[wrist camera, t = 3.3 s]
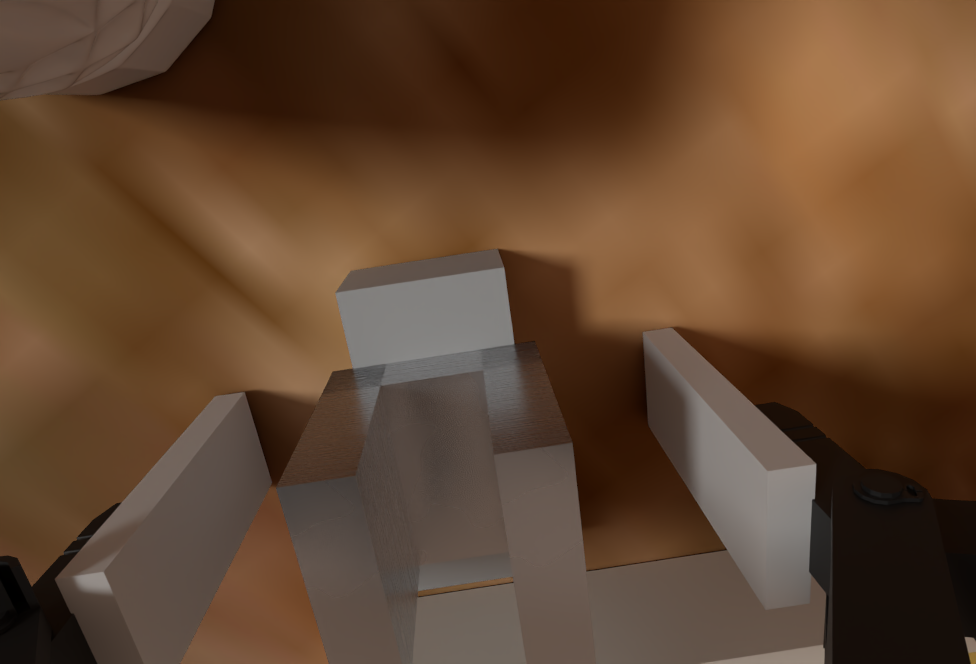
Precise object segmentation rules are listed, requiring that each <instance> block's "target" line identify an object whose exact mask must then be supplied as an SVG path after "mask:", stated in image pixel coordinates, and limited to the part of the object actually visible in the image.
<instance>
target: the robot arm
mask: <svg viewBox="0 0 976 664" xmlns="http://www.w3.org/2000/svg"><path fill="white" fill-rule="evenodd" d="M643 346H644V363H645V380H646V397H647V414H648V426H649V428H650V429H651V431H652V433H653V434H654V436H655V437H656V439H657V440H658V442H659V444H660V445H661V447H662V448H663V450H664V451H665V453H666V455H667V456H668V458H669V459H670V461H671V462H672V464H673V466H674V467H675V469H676V470H677V472H678V473H679V475H680V477H681V478H682V480H683V481H684V483H685V484H686V486H687V488H688V489H689V491H690V492H691V494H692V495H693V497H694V499H695V500H696V502H697V503H698V505H699V506H700V508H701V510H702V511H703V513H704V514H705V516H706V517H707V519H708V521H709V522H710V524H711V525H712V527H713V528H714V530H715V531H716V533H717V535H718V536H719V538H720V539H721V541H722V542H723V544H724V546H725V547H726V549H727V550H728V552H729V553H730V555H731V557H732V558H733V560H734V561H735V563H736V564H737V566H738V568H739V569H740V571H741V572H742V574H743V575H744V577H745V579H746V580H747V582H748V583H749V585H750V586H751V588H752V590H753V591H754V593H755V594H756V596H757V597H758V599H759V601H760V602H761V604H762V605H763V607H764V608H765V610H769V609H776V608H783V607H789V606H796V605H802V604H809V603H810V592H811V575H812V576H813V577H814V579H815V580H816V581H817V583H818V584H819V585H820V586H821V588H822V589H823V590H824V591H825V593H826V606H825V623H824V641H823V648H825V659H824V664H971V662H970V658H969V654H968V649H967V645H966V641H965V637H971V638H974V639H975V641H976V501H961V500H943V499H933V498H932V497H931V496H930V494H929V493H928V491H927V489H925V488H924V487H922V486H921V485H920V484H918V483H917V482H915V481H914V480H912V479H909V478H907V477H905V476H902V475H900V474H897V473H893V472H888V471H884V470H879V469H865V468H864V467H863V466H862V465H861V464H859V463H858V462H857V461H856V460H855V459H853V458H852V457H851V456H850V455H849V454H848V453H846V452H845V451H844V450H843V449H842V448H840V447H839V446H838V445H837V444H836V443H834V442H833V441H832V440H831V439H830V438H826V435H825V434H824V433H823V432H821V431H820V430H819V429H818V428H817V427H813V424H812V423H811V422H810V421H808V420H807V419H806V418H805V417H804V416H802V415H801V414H800V413H799V412H797V411H795V410H793V409H790V408H788V407H786V406H783V405H781V404H778V403H776V402H773V403H766V404H759V405H753V404H752V403H751V402H750V401H749V400H748V399H747V398H746V397H745V396H744V395H743V394H742V393H741V392H740V391H739V390H737V389H736V388H735V387H734V386H733V385H732V384H731V383H730V382H729V381H728V380H727V379H726V378H725V377H724V376H723V375H722V374H721V373H719V372H718V371H717V370H716V369H715V368H714V367H713V366H712V365H711V364H710V363H709V362H708V361H707V360H706V359H705V358H704V357H702V356H701V355H700V354H699V353H698V352H697V351H696V350H695V349H694V348H693V347H692V346H691V345H690V344H689V343H688V342H687V341H686V340H684V339H683V338H682V337H681V336H680V335H679V334H678V333H677V332H676V331H675V330H674V329H673V328H666V329H659V330H652V331H646V332H643ZM271 484H272V481H271V477H270V474H269V471H268V467H267V464H266V461H265V457H264V454H263V451H262V448H261V444H260V441H259V438H258V434H257V431H256V428H255V424H254V421H253V418H252V415H251V411H250V408H249V405H248V401H247V398H246V395H245V392H241V393H234V394H228V395H221V396H215V397H214V398H213V400H212V401H211V402H210V403H209V404H208V405H207V406H206V408H205V409H204V410H203V411H202V412H201V413H200V414H199V416H198V417H197V418H196V419H195V420H194V421H193V422H192V423H191V425H190V426H189V427H188V428H187V429H186V430H185V431H184V433H183V434H182V435H181V436H180V437H179V438H178V439H177V441H176V442H175V443H174V444H173V445H172V446H171V447H170V449H169V450H168V451H167V452H166V453H165V454H164V455H163V457H162V458H161V459H160V460H159V461H158V462H157V463H156V464H155V466H154V467H153V468H152V469H151V470H150V471H149V472H148V474H147V475H146V476H145V477H144V478H143V479H142V480H141V482H140V483H139V484H138V485H137V486H136V487H135V488H134V490H133V491H132V492H131V493H130V494H129V495H128V496H127V497H126V499H125V500H124V501H123V502H122V503H116V504H115V505H113V506H112V507H111V508H109V509H108V510H106V511H105V512H104V513H102V514H101V515H99V516H98V517H96V518H95V519H94V520H92V522H91V523H90V524H89V525H88V526H87V527H86V528H85V529H84V530H83V531H82V532H81V534H80V535H79V536H78V537H77V541H73V542H72V543H71V545H70V546H69V547H68V548H67V549H66V550H65V551H64V555H62V556H60V557H59V558H58V559H57V560H56V561H55V562H54V563H53V564H52V565H51V566H50V568H49V569H48V570H47V571H46V572H45V573H44V574H43V575H42V576H41V577H40V578H39V580H38V581H37V582H36V583H35V584H34V585H33V586H32V587H31V585H30V583H29V581H28V579H27V577H26V575H25V573H24V571H23V568H22V566H21V564H20V562H19V560H18V558H15V557H11V556H0V664H180V663H181V661H182V659H183V657H184V655H185V653H186V651H187V649H188V647H189V645H190V643H191V641H192V639H193V637H194V635H195V633H196V631H197V629H198V627H199V625H200V623H201V621H202V619H203V617H204V615H205V613H206V611H207V610H208V608H209V606H210V604H211V602H212V600H213V598H214V596H215V594H216V592H217V590H218V588H219V586H220V584H221V582H222V580H223V578H224V576H225V574H226V572H227V570H228V568H229V566H230V564H231V562H232V560H233V558H234V556H235V555H236V553H237V551H238V549H239V547H240V545H241V543H242V541H243V539H244V537H245V535H246V533H247V531H248V529H249V527H250V525H251V523H252V521H253V519H254V517H255V515H256V513H257V511H258V509H259V507H260V505H261V503H262V502H263V500H264V498H265V496H266V494H267V492H268V490H269V488H270V486H271Z"/></svg>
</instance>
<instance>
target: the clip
mask: <svg viewBox="0 0 976 664" xmlns="http://www.w3.org/2000/svg"><path fill="white" fill-rule="evenodd" d="M276 489H277V493H278V496H279V499H280V503H281V506H282V509H283V513H284V516H285V519H286V523H287V526H288V529H289V532H290V536H291V539H292V542H293V546H294V549H295V552H296V556H297V559H298V562H299V566H300V569H301V572H302V576H303V579H304V582H305V586H306V589H307V592H308V596H309V599H310V602H311V606H312V609H313V612H314V616H315V619H316V622H317V625H318V629H319V632H320V635H321V639H322V642H323V645H324V649H325V652H326V655H327V659H328V662H329V664H412V662H413V649H414V636H415V623H416V610H417V597H418V584H419V571H420V565H427V564H433V563H440V562H446V561H453V560H459V559H466V558H472V557H479V556H486V555H492V554H499V553H505V552H509V556H510V562H511V569H512V575H513V581H514V588H515V594H516V600H517V607H518V613H519V619H520V626H521V632H522V638H523V645H524V651H525V657H526V664H596V658H595V649H594V639H593V630H592V621H591V611H590V602H589V592H588V583H587V574H586V564H585V555H584V546H583V536H582V527H581V518H580V508H579V499H578V489H577V480H576V471H575V461H574V452H573V443H572V440H571V437H570V435H569V432H568V429H567V427H566V424H565V421H564V419H563V416H562V413H561V411H560V408H559V405H558V403H557V400H556V397H555V394H554V392H553V389H552V386H551V384H550V381H549V378H548V376H547V373H546V370H545V368H544V365H543V362H542V360H541V357H540V354H539V351H538V349H537V346H536V343H535V341H532V342H525V343H519V344H512V345H506V346H499V347H492V348H486V349H479V350H473V351H466V352H459V353H453V354H446V355H439V356H433V357H426V358H420V359H413V360H406V361H400V362H393V363H387V364H380V365H373V366H367V367H360V368H353V369H347V370H340V371H334V372H332V374H331V376H330V378H329V381H328V383H327V385H326V387H325V389H324V391H323V393H322V395H321V397H320V399H319V401H318V403H317V405H316V407H315V409H314V411H313V413H312V415H311V417H310V419H309V421H308V424H307V426H306V428H305V430H304V432H303V434H302V436H301V438H300V440H299V442H298V444H297V446H296V448H295V450H294V452H293V454H292V456H291V458H290V460H289V462H288V464H287V467H286V469H285V471H284V473H283V475H282V477H281V479H280V481H279V483H278V485H277V487H276Z"/></svg>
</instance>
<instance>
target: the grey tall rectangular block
mask: <svg viewBox="0 0 976 664" xmlns="http://www.w3.org/2000/svg"><path fill="white" fill-rule="evenodd" d="M336 298H337V302H338V306H339V310H340V315H341V319H342V323H343V328H344V332H345V336H346V340H347V345H348V349H349V353H350V358H351V362H352V366H353V368H360V367H367V366H373V365H380V364H387V363H393V362H400V361H406V360H413V359H420V358H426V357H433V356H439V355H446V354H453V353H459V352H466V351H473V350H479V349H486V348H492V347H499V346H506V345H512V344H514V337H513V329H512V322H511V315H510V307H509V300H508V292H507V285H506V278H505V270H504V266H503V263H502V260H501V257H500V254H499V251H498V249H493V250H487V251H480V252H473V253H467V254H460V255H453V256H447V257H440V258H433V259H427V260H420V261H413V262H407V263H400V264H394V265H387V266H380V267H374V268H367V269H360V270H354V271H350V273H349V274H348V275H347V277H346V278H345V280H344V281H343V283H342V284H341V285H340V287H339V288H338V290H337V291H336ZM512 576H513V575H512V569H511V562H510V556H509V552H505V553H499V554H492V555H486V556H479V557H472V558H466V559H459V560H453V561H446V562H440V563H433V564H427V565H420V571H419V584H418V591H420V590H427V589H434V588H440V587H447V586H453V585H460V584H466V583H473V582H479V581H486V580H492V579H499V578H505V577H512Z"/></svg>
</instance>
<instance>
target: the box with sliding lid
mask: <svg viewBox="0 0 976 664" xmlns="http://www.w3.org/2000/svg"><path fill="white" fill-rule="evenodd" d="M586 574H587V583H588V592H589V602H590V611H591V621H592V630H593V639H594V649H595V658H596V664H824V659H825V648H823V641H824V623H825V606H826V593H825V591H824V590H823V589H822V588H821V586H820V585H819V584H818V583H817V581H816V580H815V579H814V577H813V576H812V575H811V592H810V603H809V604H802V605H796V606H789V607H783V608H776V609H769V610H765V608H764V607H763V605H762V604H761V602H760V601H759V599H758V597H757V596H756V594H755V593H754V591H753V590H752V588H751V586H750V585H749V583H748V582H747V580H746V579H745V577H744V575H743V574H742V572H741V571H740V569H739V568H738V566H737V564H736V563H735V561H734V560H733V558H732V557H731V555H730V553H729V552H728V550H725V551H718V552H712V553H705V554H699V555H692V556H685V557H679V558H672V559H666V560H659V561H653V562H646V563H640V564H633V565H627V566H620V567H614V568H607V569H601V570H594V571H587V572H586ZM965 641H966V645H967V649H968V654H969V658H970V662H971V664H976V641H975V639H974V638H971V637H965ZM412 664H526V657H525V651H524V645H523V638H522V632H521V626H520V619H519V613H518V607H517V600H516V594H515V588H514V583H509V584H502V585H496V586H489V587H483V588H476V589H470V590H463V591H457V592H450V593H444V594H437V595H431V596H424V597H418V598H417V610H416V623H415V636H414V649H413V662H412Z"/></svg>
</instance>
